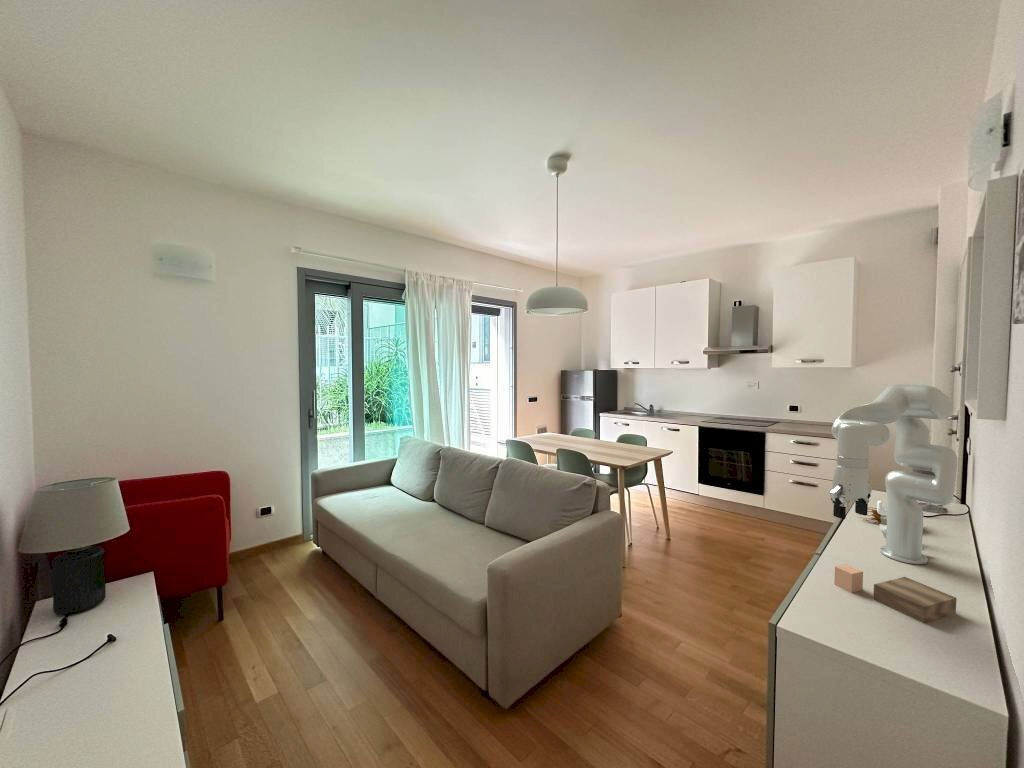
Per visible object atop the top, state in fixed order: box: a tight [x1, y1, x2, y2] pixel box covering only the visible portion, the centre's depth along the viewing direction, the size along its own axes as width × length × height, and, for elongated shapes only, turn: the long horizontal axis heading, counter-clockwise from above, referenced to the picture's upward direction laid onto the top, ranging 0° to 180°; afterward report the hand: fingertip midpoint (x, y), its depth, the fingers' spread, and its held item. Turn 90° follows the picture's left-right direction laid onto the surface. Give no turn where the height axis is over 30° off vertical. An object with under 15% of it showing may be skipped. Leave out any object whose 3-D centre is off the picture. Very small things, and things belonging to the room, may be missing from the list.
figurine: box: [876, 500, 887, 539], centre depth 164 cm, size 7×9×15 cm
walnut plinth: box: [873, 576, 957, 624], centre depth 119 cm, size 14×12×5 cm
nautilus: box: [858, 506, 887, 525], centre depth 179 cm, size 8×22×15 cm
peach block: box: [833, 563, 864, 593], centre depth 129 cm, size 5×5×6 cm
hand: (850, 515), depth 128 cm, fingers open, 9 cm apart
